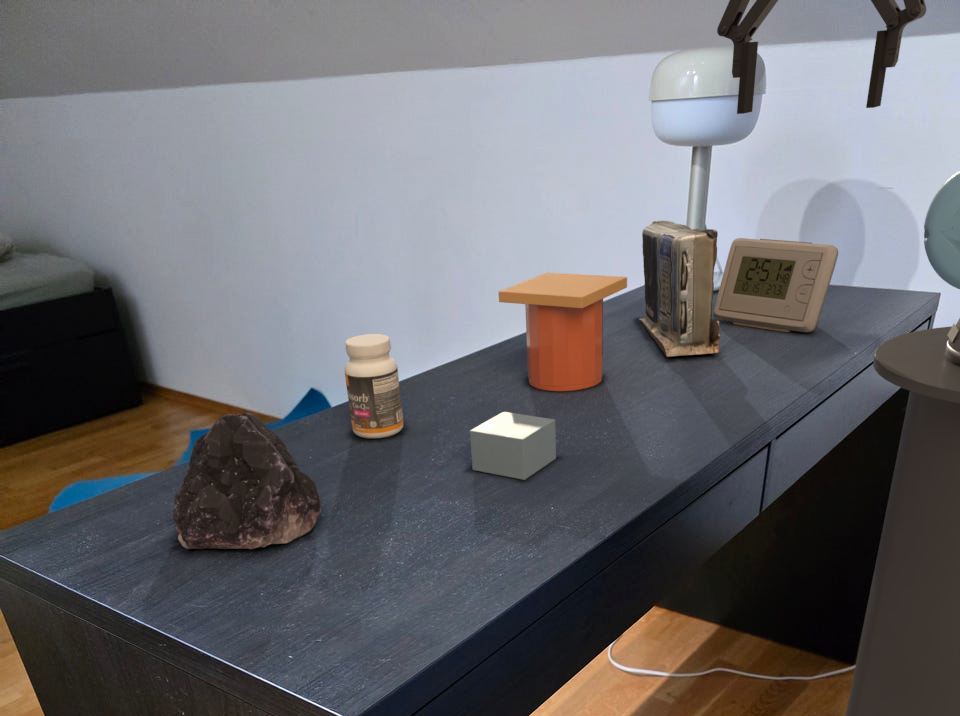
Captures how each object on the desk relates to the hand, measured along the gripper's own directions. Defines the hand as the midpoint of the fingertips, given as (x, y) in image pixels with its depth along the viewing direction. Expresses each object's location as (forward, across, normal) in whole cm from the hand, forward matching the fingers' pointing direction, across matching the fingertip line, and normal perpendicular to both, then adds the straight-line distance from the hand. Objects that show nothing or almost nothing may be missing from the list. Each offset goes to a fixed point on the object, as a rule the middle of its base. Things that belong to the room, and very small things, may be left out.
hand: (806, 110), depth 94 cm
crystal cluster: (+27, -26, -64) cm, 74 cm away
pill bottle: (+27, -31, -40) cm, 57 cm away
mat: (+17, -21, -16) cm, 31 cm away
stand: (+27, -12, -42) cm, 51 cm away
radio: (+27, -17, +6) cm, 32 cm away
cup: (+27, -21, -16) cm, 38 cm away
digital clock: (+27, -7, +17) cm, 33 cm away
